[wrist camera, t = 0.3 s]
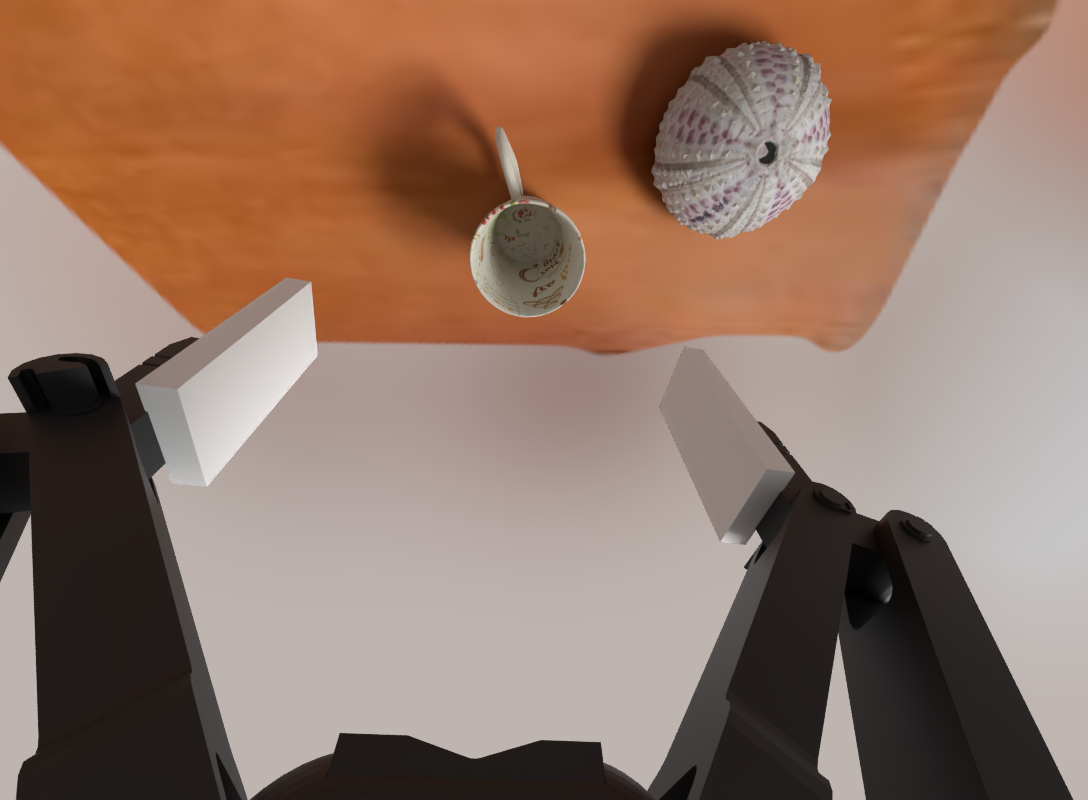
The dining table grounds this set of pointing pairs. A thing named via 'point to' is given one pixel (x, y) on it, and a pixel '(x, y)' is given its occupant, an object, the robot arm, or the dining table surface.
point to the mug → (525, 249)
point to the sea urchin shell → (742, 139)
